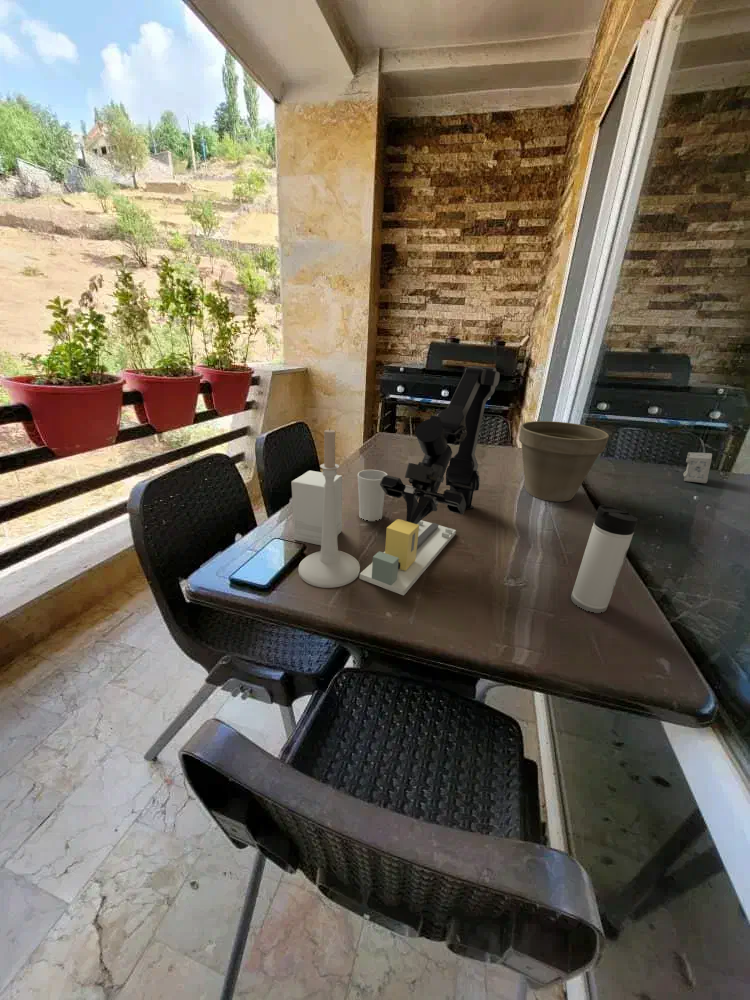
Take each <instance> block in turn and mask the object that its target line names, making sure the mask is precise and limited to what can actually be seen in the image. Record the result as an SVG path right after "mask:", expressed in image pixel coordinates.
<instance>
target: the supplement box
mask: <svg viewBox="0 0 750 1000" xmlns="http://www.w3.org/2000/svg"><path fill="white" fill-rule="evenodd" d="M325 481H326V480H325V476H323V471H322V472H320V471H315V470H307V471H306V472H304V473H303V474H302V475H300V476H297V478H295V479H293V480H291V482H290V483H291V484H290V485H291V498H292V499H291V501H292V502H291V504H292V518H293V519H292V521H293V539H294V541H299V542H303V543H308V544H314V545H316V546H321V543H322V524H323V505H324V484H325ZM334 483H335V500H336V522H337V537H338V536H339V534H340V533H342V529H343V523H342V521H343V519H342V518H343V475H341V474H340V475H339V474H337V475H336V476H335V478H334Z"/></svg>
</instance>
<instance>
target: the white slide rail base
mask: <svg viewBox="0 0 750 1000" xmlns="http://www.w3.org/2000/svg"><path fill="white" fill-rule="evenodd" d="M418 525H419V533H418V542H417V552H416V560H415V561H414V562H413V563H412V565H411V566H410V567H409V568H408V569H407V570H406V571H404V570H401V569H400V562H399V558H398V557H395V556H392V555H389V554H386V553H385V550H384V551H383V552H382V551H380V550H379V551H377V552H376V553H375V554H374V555H373V556H372V562H371V563H370V564H369V565H367V566H366V568H364V569H363V570H362V571H361V572H360V573H359V580H362V581H364V582H367V583H369V584H372V585H376V586H378V587H381V588H383V589H385V590H387V591H390V592H393V593H396V594H399V595H401V596H405V595H406V593H408V591H409V590H410V589H411V588H412V586H413V585H414V584H415V583H416V582H417V580H418V579H420V577H421V575H423V573H424V572H425V571H426V569H428V567H429V566H431V564H432V563H433V562H434V560H435V559H436V558H437V557H438V555H439V554H440V553H441V552H442V550H444V548H445V547H446V546H447V545H448V544H449V542H450V541H451V540H452V539H453V538H454V537H455V535H456V533H457V530H456V529H454V528H450V527H447V526H443V525H440V524H439V523H435V522H429V521H425V520H423V519H422V520H421V521H420V522H419V523H418Z"/></svg>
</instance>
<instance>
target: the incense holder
mask: <svg viewBox="0 0 750 1000" xmlns="http://www.w3.org/2000/svg"><path fill="white" fill-rule="evenodd" d="M712 457H713V453H712V452H711V453H710V452H691V451H689V452H687V455H686V460H685V463H687V464H686V470H685V471H684V472H683V473H682V474H683V481H684V482H691V483H701V484H707V482H708V478H709V472H710V469H711V463H712V459H713V458H712Z"/></svg>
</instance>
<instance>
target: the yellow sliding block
mask: <svg viewBox="0 0 750 1000" xmlns="http://www.w3.org/2000/svg"><path fill="white" fill-rule="evenodd" d="M385 533H386V534H385V544H384V545H385V549H384V551H385V553H386V554H389V555H392V556H395V557H398V558H399V562H400V569H401V570H404V571H406V570H407V569H408V568H409V567H410V566H411V565H412V563H413V562H414V561H415V560H416V552H417V542H418V533H419V525H418V524H414V523H411V522H407V521H406V520H403V519H399V518H397V519H395V520H394V521H393V522H392V523H391V524H389V525H388V526H387V527H386V532H385Z"/></svg>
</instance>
